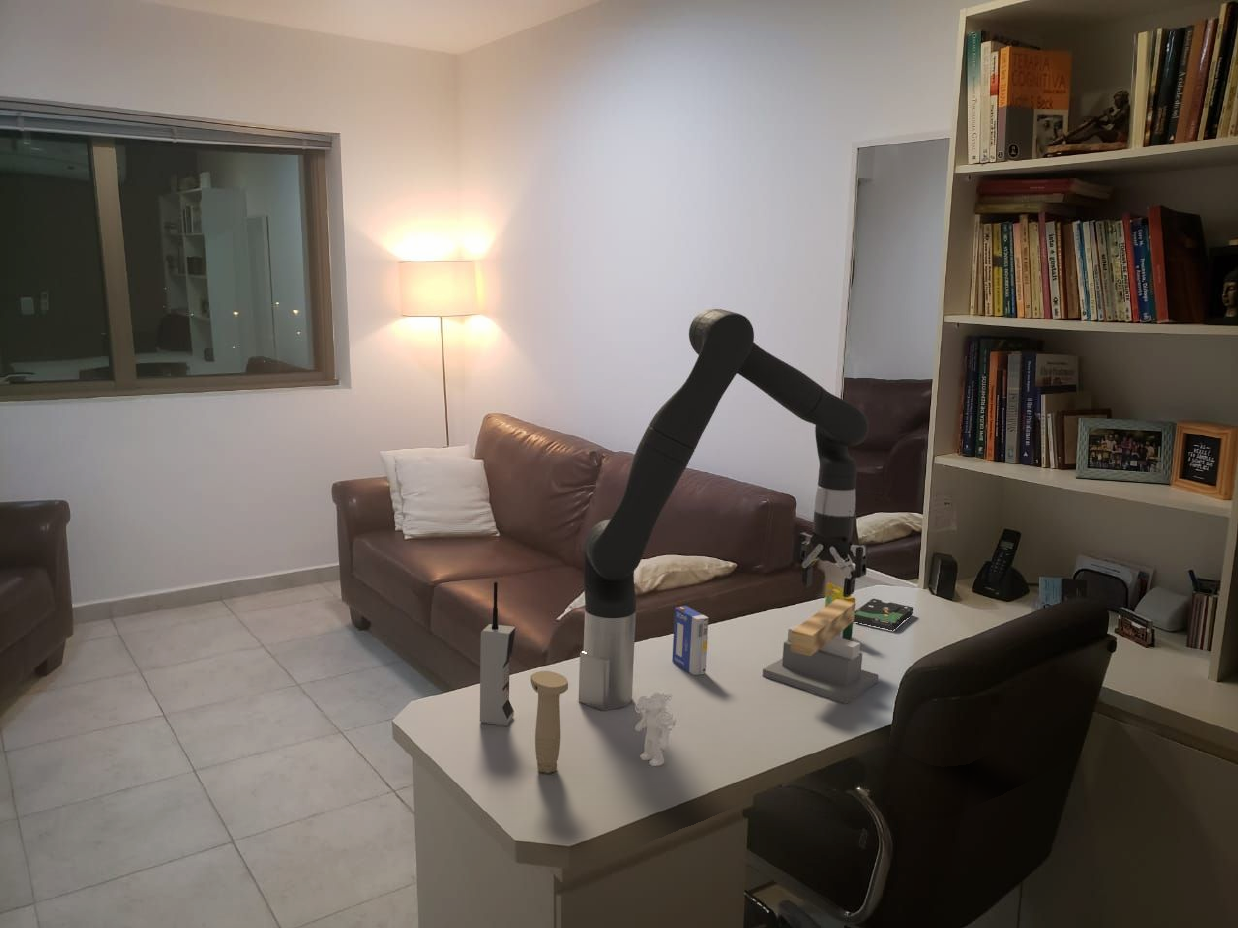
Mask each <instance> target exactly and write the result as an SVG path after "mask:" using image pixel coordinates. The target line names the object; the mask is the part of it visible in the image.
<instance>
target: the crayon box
mask: <svg viewBox="0 0 1238 928" xmlns="http://www.w3.org/2000/svg"><path fill="white" fill-rule="evenodd" d="M843 591H844V588H841V587H839V586H837V585H835V584H833V583H831V582H829V581H827V584H826V589H825V601H824V602H825V603H824V608H825V607H826V606H827V605H829V604H830V603H832V602H833V601H834V600H836V599H840V600H845V601H850V602H854V603H855V604H856V597H854V596H852V595H851V596H849V597H843ZM853 629H854V623H853V622H852V623H851V624H850V625H849V626H847V627H846V628H845V629H844V630H842V631H841V632H840V633H839V634H837V635H836V637H840V638H843V639H847V640H850V641H853V631H854V630H853Z"/></svg>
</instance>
